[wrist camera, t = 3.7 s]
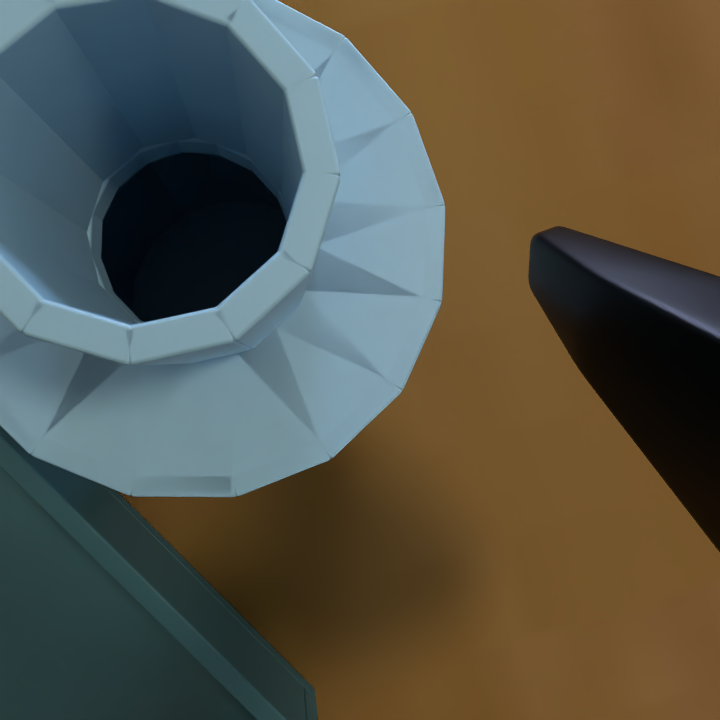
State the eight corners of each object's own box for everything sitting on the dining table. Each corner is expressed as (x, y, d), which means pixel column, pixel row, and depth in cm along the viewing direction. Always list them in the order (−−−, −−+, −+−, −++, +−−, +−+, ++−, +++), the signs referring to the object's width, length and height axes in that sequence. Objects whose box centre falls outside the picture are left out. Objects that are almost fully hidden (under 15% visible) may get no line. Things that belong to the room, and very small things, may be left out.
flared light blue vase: (397, 315, 18) (692, 201, 5) (236, 466, 17) (112, 765, 5) (247, 150, 18) (158, -440, 5) (75, 300, 17) (-581, 104, 4)
